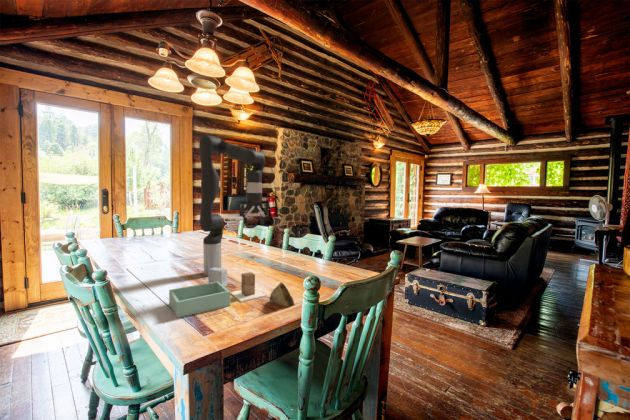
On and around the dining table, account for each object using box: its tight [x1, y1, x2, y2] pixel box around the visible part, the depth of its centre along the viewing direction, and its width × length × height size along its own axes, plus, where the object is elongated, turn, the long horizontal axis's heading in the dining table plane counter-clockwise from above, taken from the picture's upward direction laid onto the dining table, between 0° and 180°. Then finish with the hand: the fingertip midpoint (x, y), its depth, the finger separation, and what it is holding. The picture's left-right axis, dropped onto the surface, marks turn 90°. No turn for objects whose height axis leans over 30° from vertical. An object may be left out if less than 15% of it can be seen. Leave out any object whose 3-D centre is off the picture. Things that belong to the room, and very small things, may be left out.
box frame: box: [168, 281, 231, 319], centre depth 117 cm, size 15×20×6 cm
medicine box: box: [207, 267, 228, 288], centre depth 138 cm, size 8×4×9 cm, turn 71°
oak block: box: [240, 271, 256, 296], centre depth 129 cm, size 4×4×9 cm
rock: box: [269, 282, 296, 307], centre depth 121 cm, size 11×9×10 cm
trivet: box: [230, 286, 267, 303], centre depth 129 cm, size 12×12×1 cm
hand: (254, 224), depth 141 cm, fingers open, 8 cm apart
